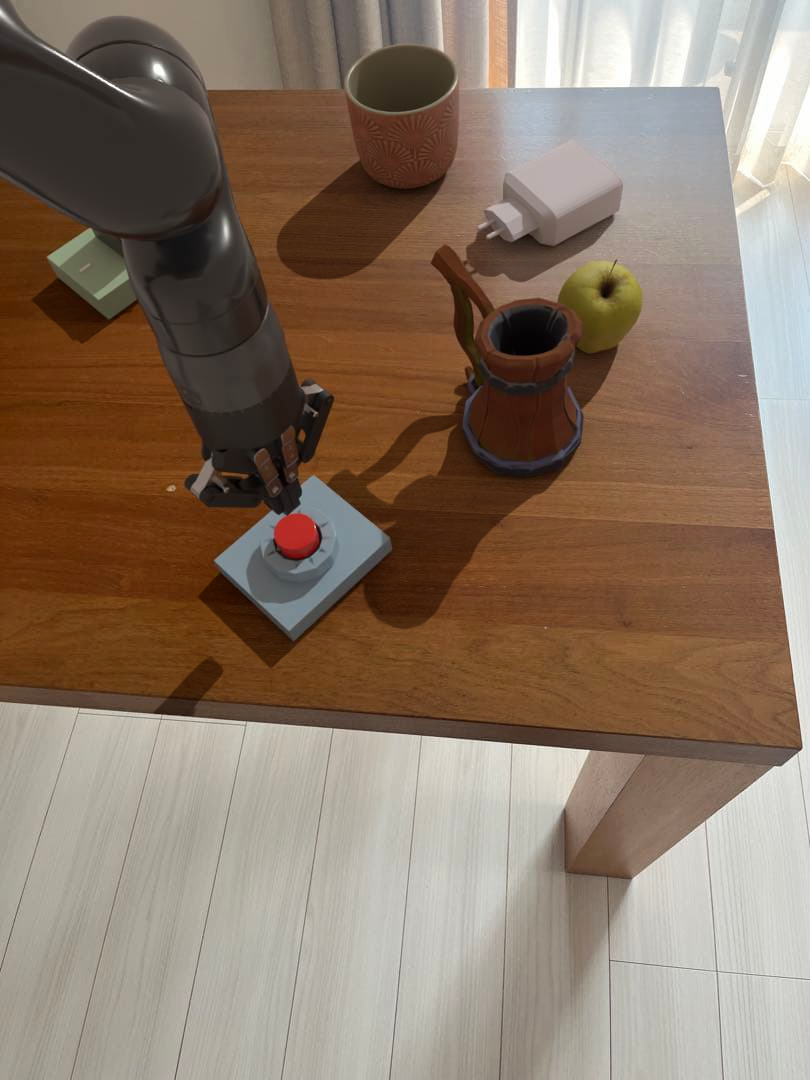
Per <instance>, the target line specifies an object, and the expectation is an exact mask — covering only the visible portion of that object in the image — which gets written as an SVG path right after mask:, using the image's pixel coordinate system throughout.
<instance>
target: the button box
mask: <svg viewBox="0 0 810 1080" xmlns="http://www.w3.org/2000/svg"><path fill="white" fill-rule="evenodd" d="M300 486H301V488H302V496H301V497H300V498H299V500H300V503H301V505H299V506H298V507H297V508H296V509H295V510H294V511H293V512H291V513H290V514H295V513H300V514H304V515H307V516H308V517H310V518H311V519H312V520H313V521H314V523H315V526H316V529H317V532H318V535H319V544H318V546H317V548H316V550H315V551H314V552H313V553H312V554H311V555H309V556H308V557H306V558H303V559H290V558H288V557H286V556H284V555H283V554H282V553H281V552H280V550H279V548H278V546H277V543H276V541H275V538H274V530H275V527H276V525H277V523H278V522H279V521H280V520H281V519H282V518H283V517H285V516H286V515H285V514H284V513H281V514H280V515H278V514H276V513H275V512H274V511H272V510H270V511H269V512H268V513H267V514H266V515H264V516H263V517H262V519H260V520H259V521H257V523H256V524H254V525H253V526H252V527H250V529H248V530H247V531H246V532H245V533H244V534H242V535H241V536H240V537H239V538H238V539H237V540H236V541H235V542H233V543H232V544H231V545H230V546H229V547H228V548H226V549H225V550H224V551H223V552H222V553H220V554H219V555H217V557H216V558H215V559H213V562H214V564H215V566H216V567H217V570H218V571H219V572H220V573H221V574H222V576H224V577H225V579H227V580H228V581H229V582H230V583H232V585H233V586H234V587H235V588H236V589H237V590H239V591H240V592H241V594H243V595H244V596H245V597H246V598H247V599H248V600H249V601H250V602H251V603H252V604H253V605H254V606H255V607H256V608H257V609H259V610H260V612H262V614H264V615H265V616H266V617H267V618H268V619H269V620H270V621H271V622H272V623H274V624H275V626H277V627H278V628H279V629H280V630H281V631H282V632H283V633H284V634H285V635H286V636H287V637H288V638H289V639H290V640H291V641H292V642H295V641H296V640H297V639H298V638H299V637H300V636H301V635H303V634H304V633H305V631H307V630H309V628H310V627H311V626H312V625H313V624H315V623H316V622H317V620H318V619H320V617H322V616H323V615H324V614H325V613H326V612H328V610H330V609H331V608H332V607H333V606H334V605H335V604H336V602H338V601H339V600H340V599H341V598H342V597H343V596H344V595H345V594H347V593H348V592H349V591H350V590H351V589H352V588H353V587H354V586H355V585H356V584H357V583H358V582H360V580H362V579H363V578H364V577H365V576H366V575H367V574H368V573H370V572H371V571H372V570H373V568H375V566H376V565H378V564H379V563H380V562H381V561H382V560H384V558H385V557H387V555H388V554H389V553H391V552H392V551H393V546H392V542H391V541H392V540H391V537H390V536H389V535H387V534H386V533H385V532H384V531H382V530H381V529H380V528H379V527H377V526H376V524H374V523H373V522H371V520H369V519H368V518H367V517H365V516H364V515H363V514H362V513H361V512H359V511H358V510H357V509H356V508H355V507H353V506H352V505H351V504H350V503H348V502H347V501H346V500H345V499H343V498H342V497H341V496H340V495H339V494H338V493H336V492H335V491H334V490H333V489H332V488H331V487H329V486H328V485H327V484H325V483H324V482H323V481H322V480H321V479H319V478H318V477H317V476H315V474H312V475H311V476H310V477H309V478H308V479H306V480H305V481H304V482H303V483H302V484H300ZM290 514H289V515H290Z"/></svg>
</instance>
